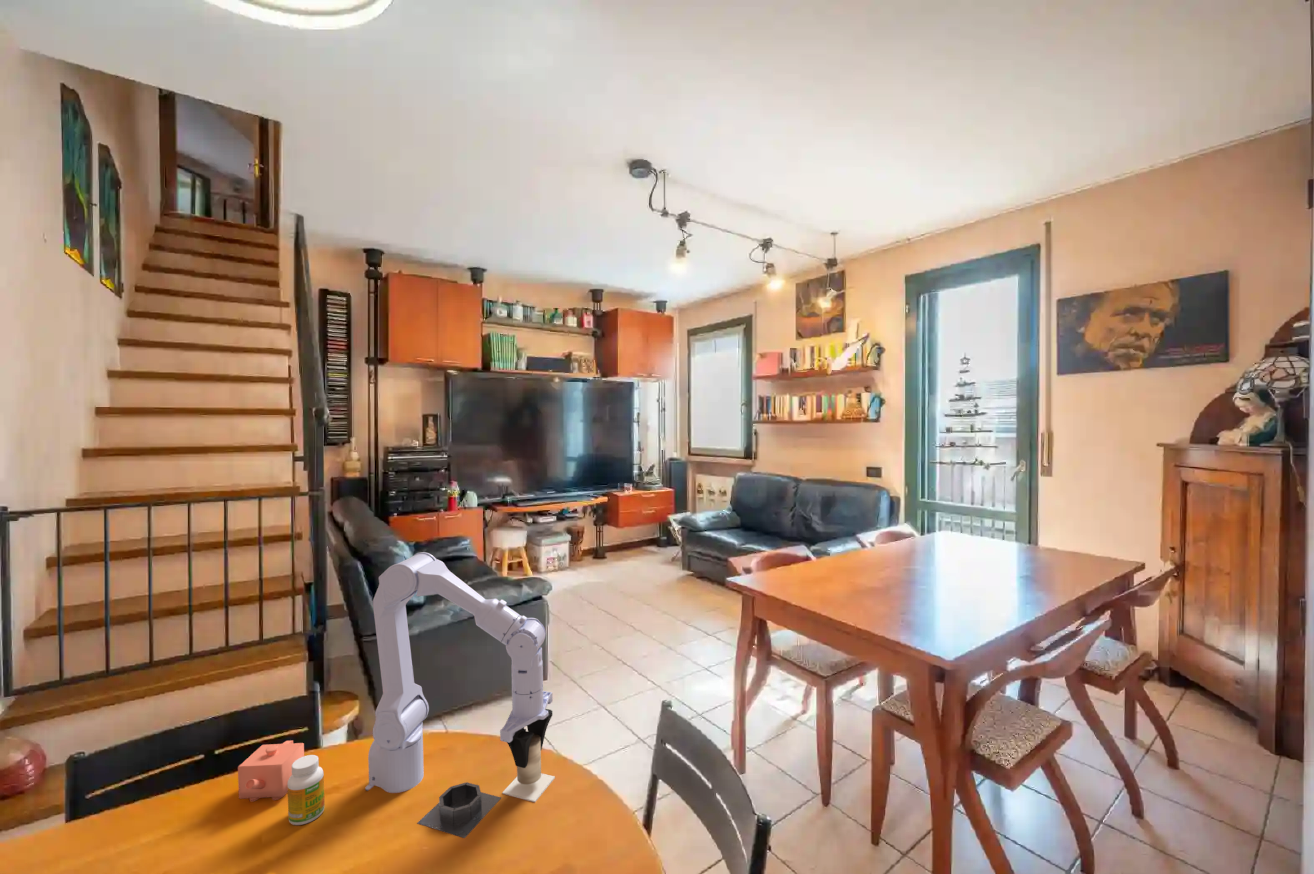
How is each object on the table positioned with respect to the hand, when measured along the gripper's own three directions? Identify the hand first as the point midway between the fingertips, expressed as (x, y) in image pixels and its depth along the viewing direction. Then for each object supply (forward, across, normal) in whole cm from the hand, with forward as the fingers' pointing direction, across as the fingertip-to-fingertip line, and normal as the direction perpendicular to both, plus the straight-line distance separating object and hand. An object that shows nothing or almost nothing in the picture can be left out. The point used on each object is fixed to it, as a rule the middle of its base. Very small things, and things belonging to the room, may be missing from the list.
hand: (528, 757), depth 101 cm
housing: (+6, -10, +8) cm, 14 cm away
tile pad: (+6, 0, 0) cm, 6 cm away
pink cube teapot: (+6, -16, +46) cm, 49 cm away
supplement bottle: (+6, -18, +34) cm, 39 cm away
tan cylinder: (+4, 0, 0) cm, 4 cm away
